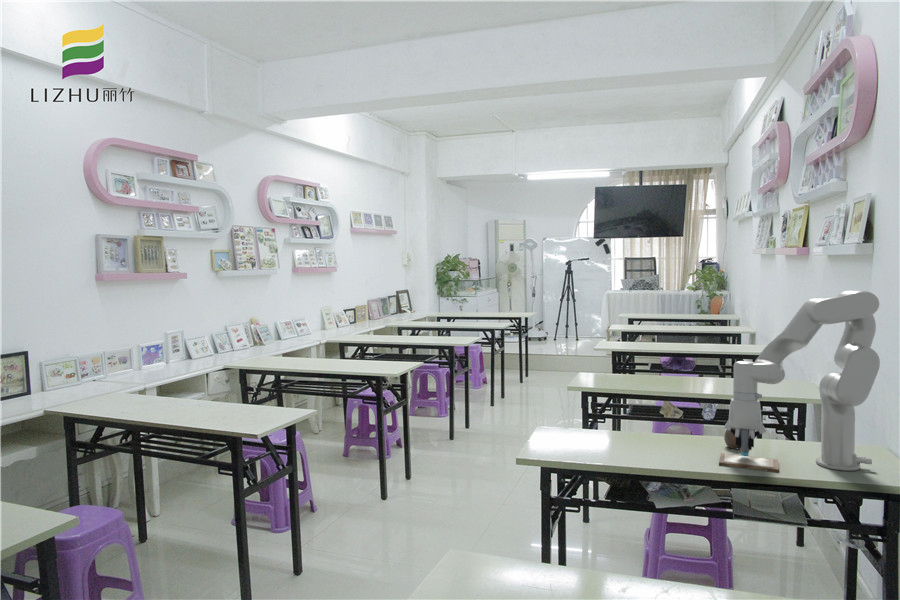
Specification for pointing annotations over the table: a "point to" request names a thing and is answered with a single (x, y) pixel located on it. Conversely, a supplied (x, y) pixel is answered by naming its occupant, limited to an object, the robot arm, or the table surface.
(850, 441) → the robot arm
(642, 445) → the table surface
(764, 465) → the brown picture frame
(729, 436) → the vase
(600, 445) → the table surface
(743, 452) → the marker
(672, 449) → the table surface
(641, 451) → the table surface
